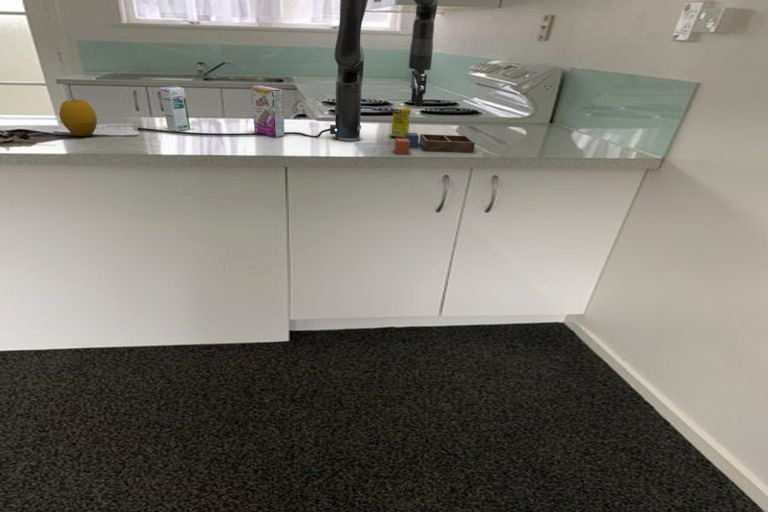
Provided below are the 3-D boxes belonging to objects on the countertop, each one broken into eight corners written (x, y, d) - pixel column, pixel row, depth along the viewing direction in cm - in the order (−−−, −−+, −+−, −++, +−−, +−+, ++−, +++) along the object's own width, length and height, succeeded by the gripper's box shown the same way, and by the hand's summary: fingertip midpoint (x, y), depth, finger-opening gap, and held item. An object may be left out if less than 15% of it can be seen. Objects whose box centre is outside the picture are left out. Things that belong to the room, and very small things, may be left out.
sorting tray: (424, 150, 149) (425, 140, 148) (419, 143, 159) (420, 133, 157) (473, 152, 152) (475, 142, 150) (464, 145, 161) (466, 135, 160)
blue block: (405, 147, 152) (406, 135, 150) (403, 144, 156) (404, 132, 154) (417, 147, 153) (418, 135, 151) (415, 144, 157) (416, 132, 155)
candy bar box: (253, 132, 157) (249, 86, 149) (263, 130, 161) (260, 85, 153) (275, 138, 152) (272, 89, 144) (285, 136, 156) (283, 88, 148)
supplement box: (406, 139, 163) (408, 110, 158) (391, 137, 164) (393, 108, 159) (408, 136, 169) (410, 108, 164) (393, 134, 170) (395, 106, 164)
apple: (80, 141, 132) (70, 101, 127) (57, 137, 135) (46, 98, 129) (107, 135, 140) (98, 98, 135) (85, 131, 143) (76, 95, 137)
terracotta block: (396, 154, 143) (397, 141, 141) (394, 150, 147) (395, 138, 145) (408, 154, 144) (409, 141, 141) (406, 151, 147) (407, 138, 145)
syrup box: (176, 131, 151) (169, 88, 144) (166, 128, 154) (159, 86, 147) (190, 129, 156) (184, 87, 149) (181, 126, 158) (174, 85, 151)
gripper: (406, 52, 146) (402, 100, 154) (413, 54, 134) (409, 107, 141) (427, 53, 147) (422, 101, 155) (436, 55, 135) (431, 108, 142)
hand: (416, 104), depth 148 cm, fingers open, 8 cm apart
